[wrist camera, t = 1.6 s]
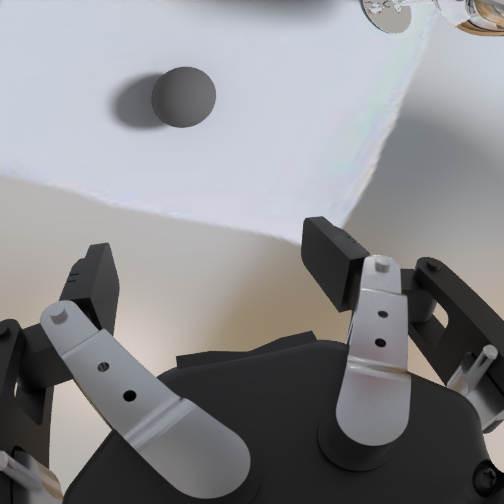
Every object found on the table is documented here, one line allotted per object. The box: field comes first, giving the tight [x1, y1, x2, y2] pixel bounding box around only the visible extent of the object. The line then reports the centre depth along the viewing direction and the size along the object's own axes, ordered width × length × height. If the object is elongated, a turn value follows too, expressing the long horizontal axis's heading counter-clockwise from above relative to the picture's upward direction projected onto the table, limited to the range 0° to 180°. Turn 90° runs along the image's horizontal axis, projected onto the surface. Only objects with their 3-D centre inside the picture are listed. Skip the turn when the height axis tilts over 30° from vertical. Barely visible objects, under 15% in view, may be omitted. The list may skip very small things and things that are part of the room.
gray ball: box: [152, 67, 216, 128], centre depth 23 cm, size 6×6×6 cm
